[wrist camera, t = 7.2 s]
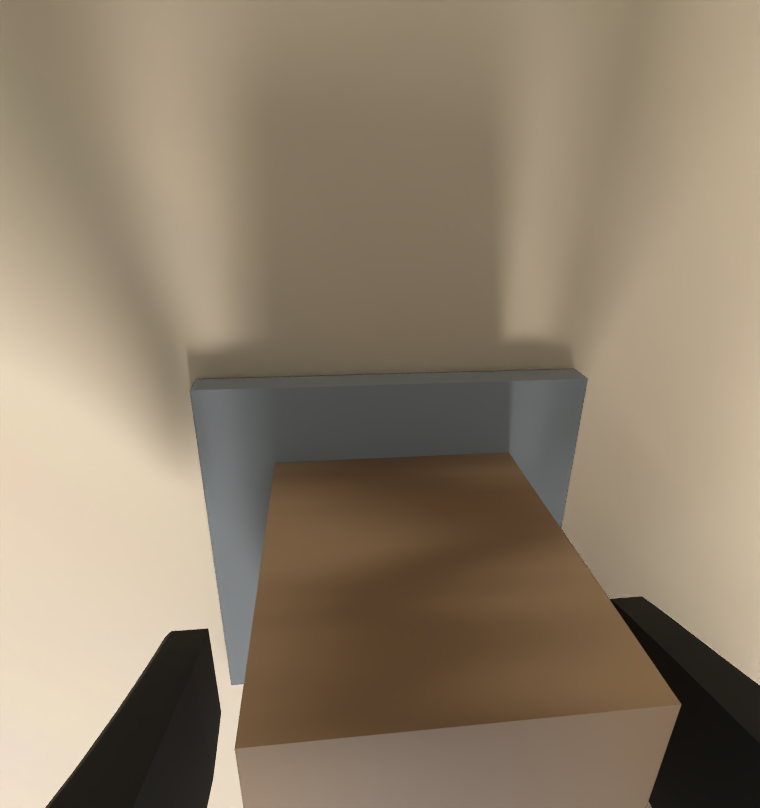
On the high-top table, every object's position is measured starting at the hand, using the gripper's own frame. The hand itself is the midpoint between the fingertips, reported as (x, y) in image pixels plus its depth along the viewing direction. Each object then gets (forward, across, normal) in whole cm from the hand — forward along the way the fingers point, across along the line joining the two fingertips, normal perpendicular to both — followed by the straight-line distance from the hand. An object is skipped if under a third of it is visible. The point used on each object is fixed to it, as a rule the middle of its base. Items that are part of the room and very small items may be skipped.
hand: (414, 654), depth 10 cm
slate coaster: (+3, 0, 0) cm, 4 cm away
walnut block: (+3, 0, 0) cm, 3 cm away
